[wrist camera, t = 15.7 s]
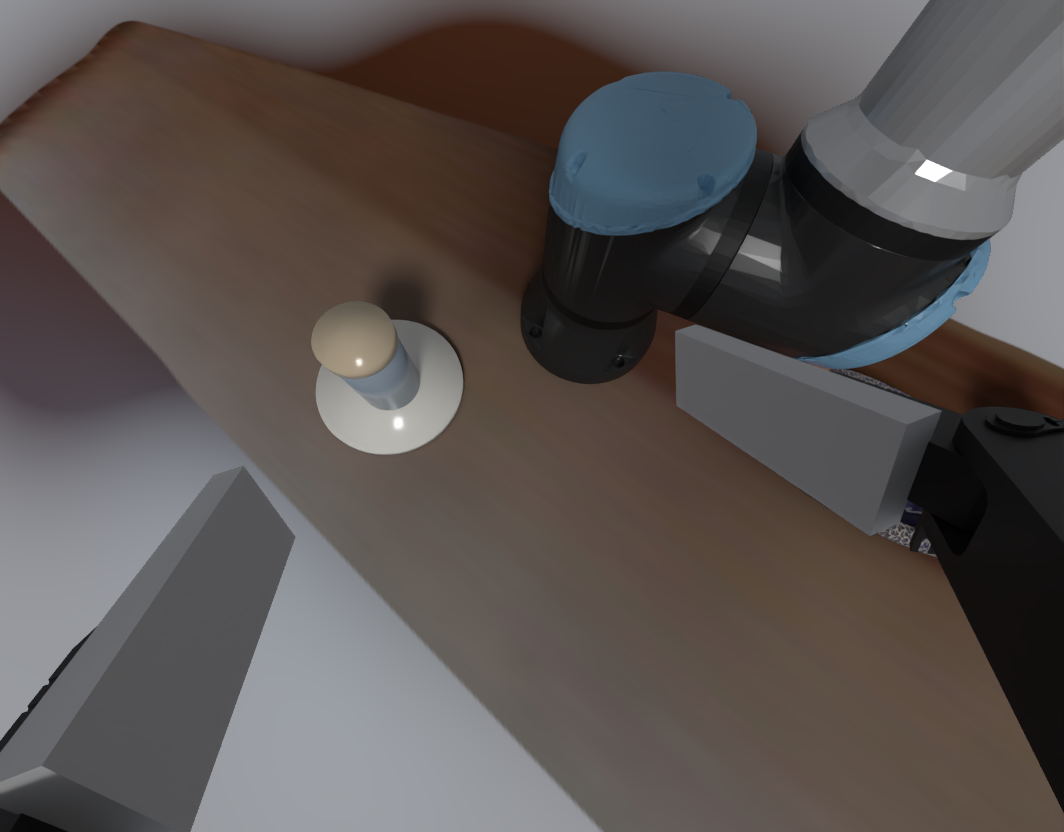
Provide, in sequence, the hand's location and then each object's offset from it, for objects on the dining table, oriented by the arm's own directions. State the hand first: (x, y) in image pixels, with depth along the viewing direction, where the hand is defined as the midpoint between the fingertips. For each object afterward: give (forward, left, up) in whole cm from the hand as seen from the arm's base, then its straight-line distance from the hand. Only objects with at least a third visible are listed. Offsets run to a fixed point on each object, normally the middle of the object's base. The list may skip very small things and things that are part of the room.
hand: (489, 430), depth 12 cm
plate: (-7, -16, -28) cm, 32 cm away
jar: (-7, -15, -27) cm, 32 cm away
